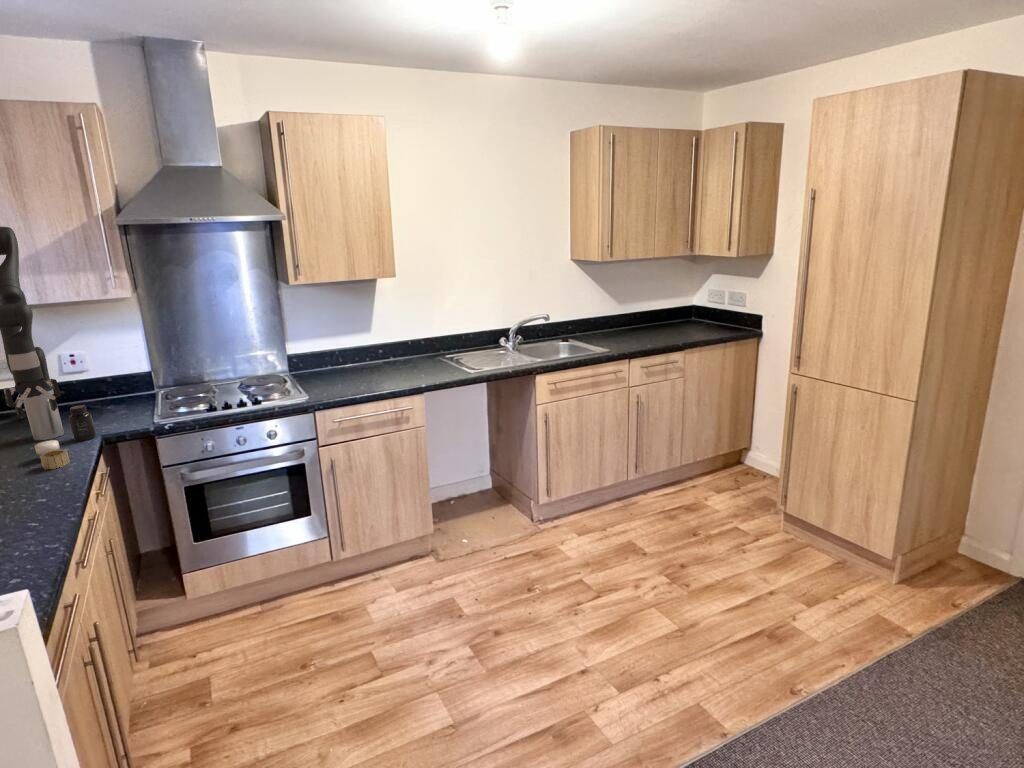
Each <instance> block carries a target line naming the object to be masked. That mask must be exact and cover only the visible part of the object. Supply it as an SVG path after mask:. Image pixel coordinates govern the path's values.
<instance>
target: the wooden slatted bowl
mask: <svg viewBox="0 0 1024 768" xmlns="http://www.w3.org/2000/svg"><path fill="white" fill-rule="evenodd" d="M39 459H40V462H41V466H42V469H43V468H44V469H43V470H46V469H51V470H55V469H56V468H57V469H60V468H63V467H65V465H66V464H68V463H69V462H70V463H71V461H70V457H69V454H68V450H67V449H63V448H62V449H61V448H60V449H59V450H54V451H50V452H46V453H44V454H42V455H41V454H40V456H39ZM70 463H69V464H70ZM69 464H68V465H69ZM66 466H67V465H66ZM59 467H60V468H59Z"/></svg>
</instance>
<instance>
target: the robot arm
mask: <svg viewBox="0 0 1024 768" xmlns="http://www.w3.org/2000/svg"><path fill="white" fill-rule="evenodd" d="M19 253H20V252H19V243H18V239H17V236H16V233H15V231H14V229H13V228H11V227H10V226H9V227H8V226H0V256H5V257H4V259H3V261H2V262H1V264H0V334H1V339H2V344H3V349H4V354H5V355H4V356H5V359H6V363H7V364H6V365H7V367H8V370H9V372H10V373H11V375H12V378H13V382H14V384H15V385H14V387H10V388H9V387H4V388H3V393H4V398H5V404H6V406H7V407H9V408H15V411H16V412H15V413H16V415H17V417H19V418H21V419H25V417H26V416H27V420H28V423H29V427H30V431H31V434H32V437H33V438H32V439H33V441H48V440H53V439H54V438H58V437H60V436H63V435H64V434H65V431H64V427H63V424H62V419H61V416H60V412H59V407H58V403H57V400H56V399H57V398H59V397H62V393H61V390H60V387H59V383H58V381H57V379H55V378H50V373H49V368H48V364H47V363H48V362H47V358H46V354H45V351H44V350H43V349H42V348H41V347H40V346H35V345H34V341H33V334H32V330H33V329H32V327H33V317H34V316H33V315H34V313H33V310H32V308H31V306H30V305H28V304H27V303H28V302H27V298H26V295H25V293H24V291H23V289H21V283H20V277H19V276H20V274H19V272H20V271H19V269H20V263H19V262H20V255H19ZM15 392H16V393H18V395H17V397H16V400H15V402H14V400H13V395H14V393H15ZM22 405H23V406H24V408H23V406H22ZM24 409H25V412H26V416H25V412H24Z"/></svg>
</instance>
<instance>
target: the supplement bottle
mask: <svg viewBox="0 0 1024 768" xmlns="http://www.w3.org/2000/svg"><path fill="white" fill-rule="evenodd" d="M87 410H88V409H87V406H86V405H84V404H83V405H82V404H80V405H75V406H71V407H70V408H69V412H70V413H69V414H71V415H69V417H68V422H69V425H70V429H71V433H72V436H73V440H74V441H75V442H85V441H84V440H86V441H89V439H90V440H92V439H95V438H96V437H97V432H96V429H95V427H96V426H95V424H94V420H93V417H92V413H90V412H89V411H87Z"/></svg>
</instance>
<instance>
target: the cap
mask: <svg viewBox="0 0 1024 768" xmlns="http://www.w3.org/2000/svg"><path fill="white" fill-rule="evenodd" d="M34 449H35V450H34V451H35V453H36V455H40V456H41V455H42V454H44V453H46V452H50V451H54V450H60V449H61V448H60V443H59V440H53V439H49V440H44V441H41V442H38V443H37V444H35V445H34Z"/></svg>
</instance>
